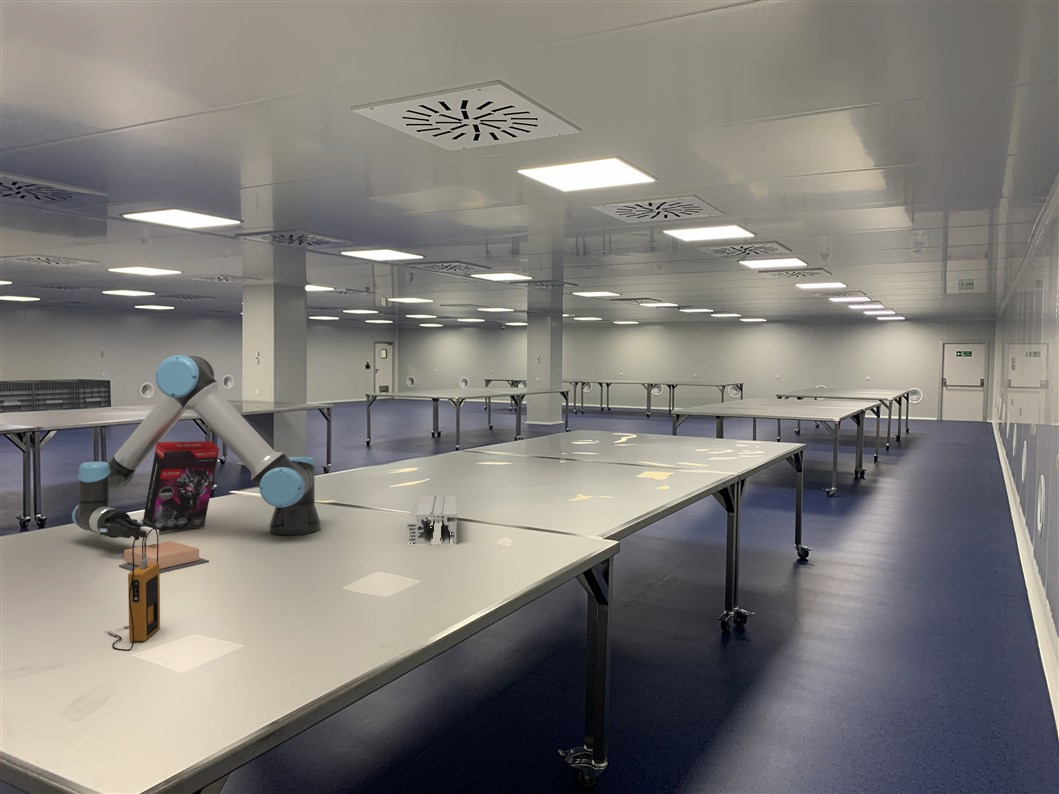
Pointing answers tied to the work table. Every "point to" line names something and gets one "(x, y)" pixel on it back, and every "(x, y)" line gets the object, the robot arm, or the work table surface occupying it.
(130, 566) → the mat
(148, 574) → the multimeter
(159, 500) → the graphics card box
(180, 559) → the tile
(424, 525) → the aluminum extrusion profile
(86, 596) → the work table surface
